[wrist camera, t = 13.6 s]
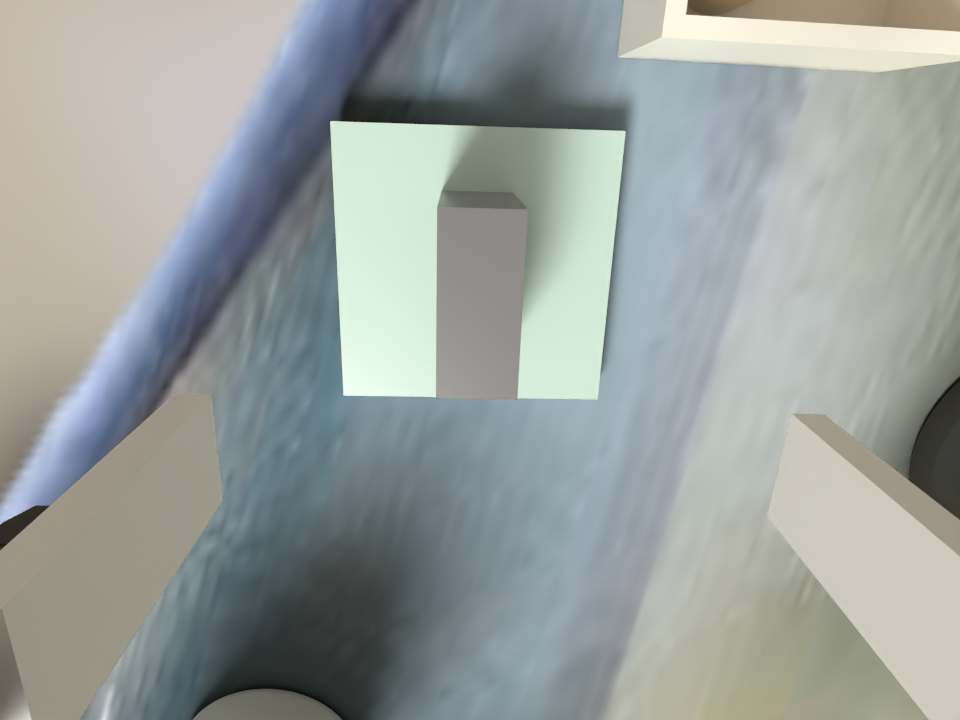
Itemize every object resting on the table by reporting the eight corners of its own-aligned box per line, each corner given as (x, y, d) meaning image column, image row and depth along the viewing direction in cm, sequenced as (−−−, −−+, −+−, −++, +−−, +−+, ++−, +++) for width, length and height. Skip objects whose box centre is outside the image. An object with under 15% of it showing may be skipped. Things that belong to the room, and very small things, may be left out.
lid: (615, 130, 32) (673, 131, 23) (590, 385, 36) (630, 462, 28) (338, 121, 31) (293, 118, 23) (349, 381, 36) (315, 458, 27)
